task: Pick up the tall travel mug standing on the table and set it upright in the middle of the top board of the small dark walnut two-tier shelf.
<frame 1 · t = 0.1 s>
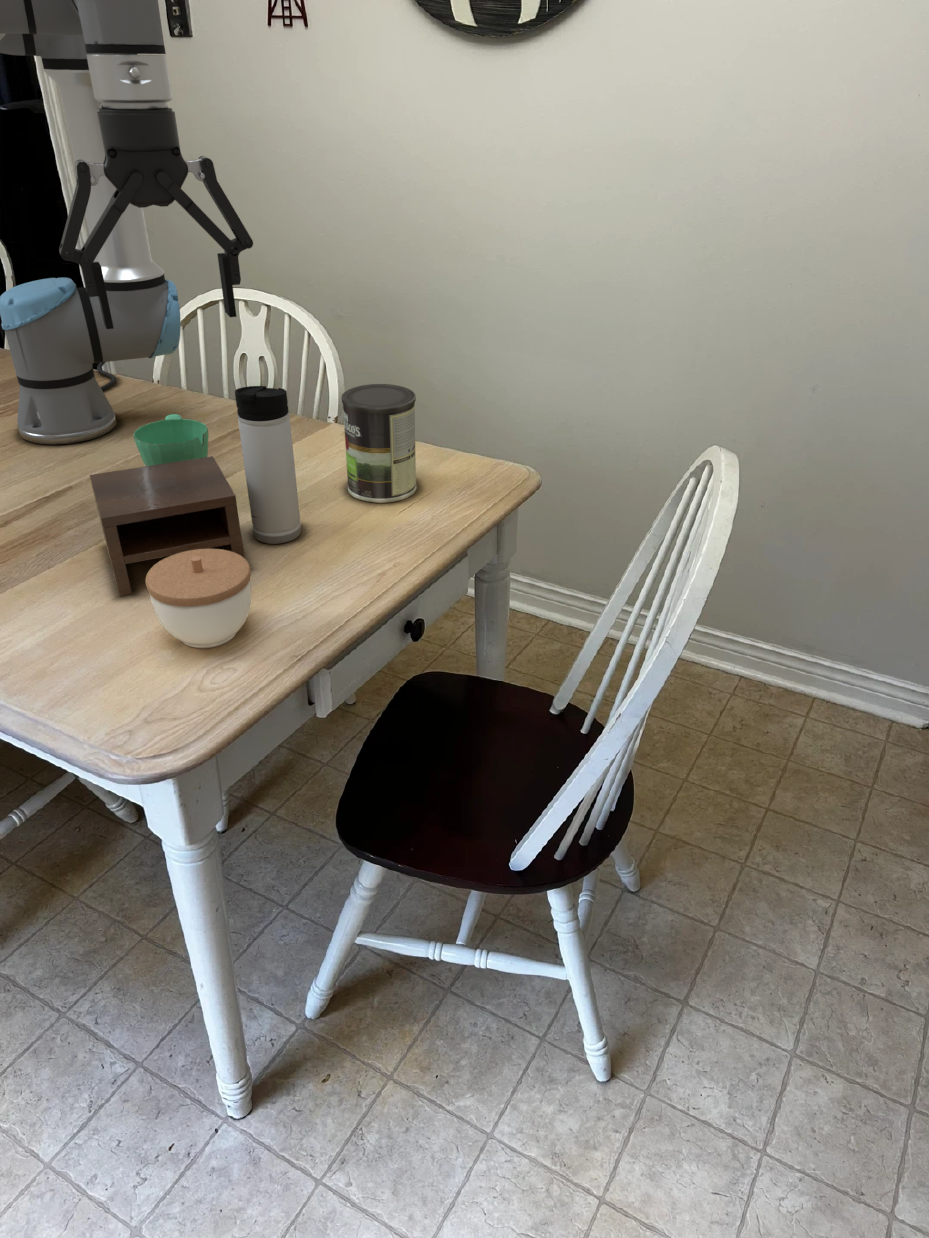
hand: (171, 320, 100), 28 cm above the table, tool pointing down, fingers open, 13 cm apart
coffee can: (382, 489, 129), on the table
mug: (182, 492, 127), on the table
trinket box: (209, 634, 96), on the table
travel mug: (277, 535, 116), on the table
shelf: (175, 559, 110), on the table
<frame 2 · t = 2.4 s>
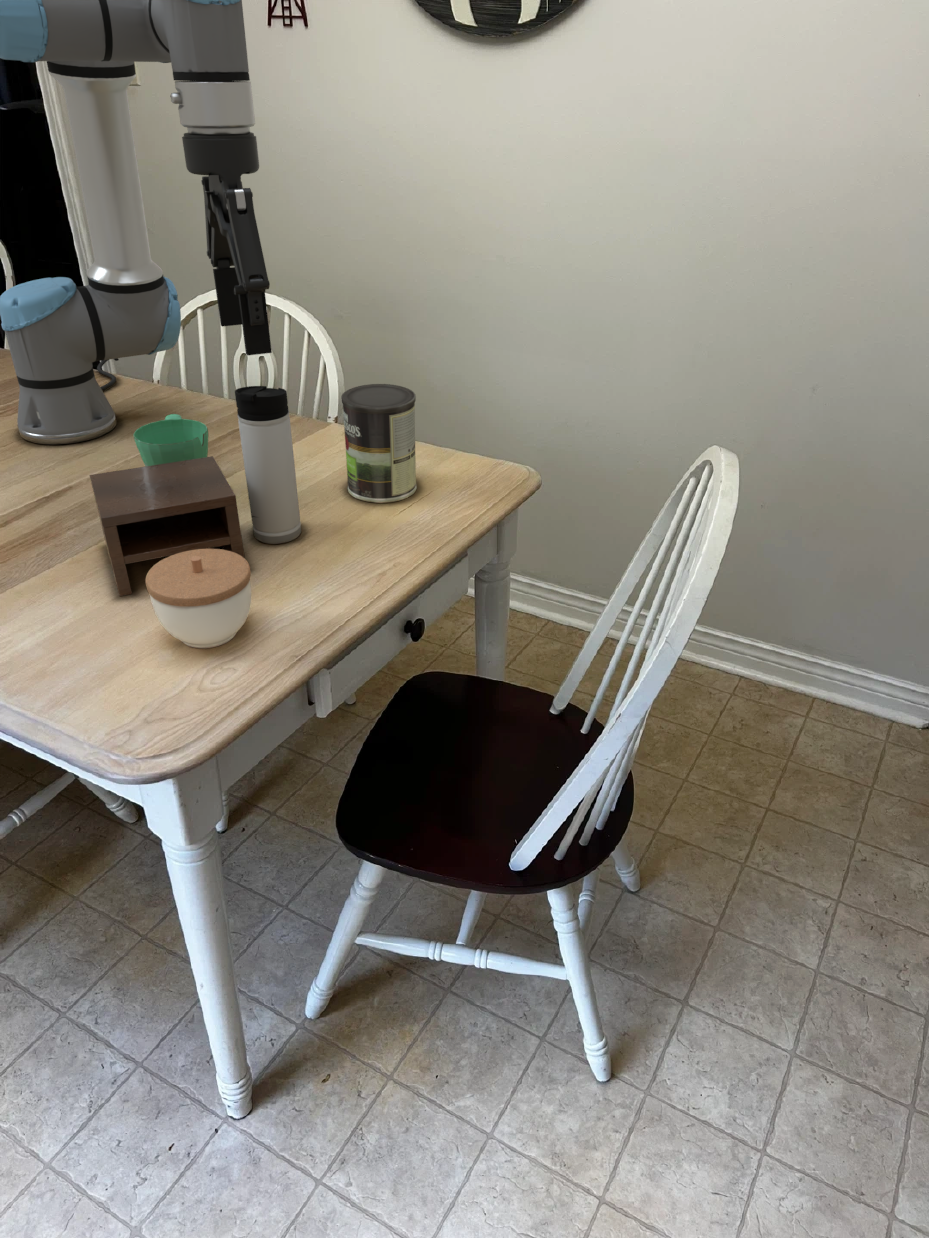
hand: (245, 338, 102), 26 cm above the table, tool pointing down, fingers open, 13 cm apart
nothing on the table moved.
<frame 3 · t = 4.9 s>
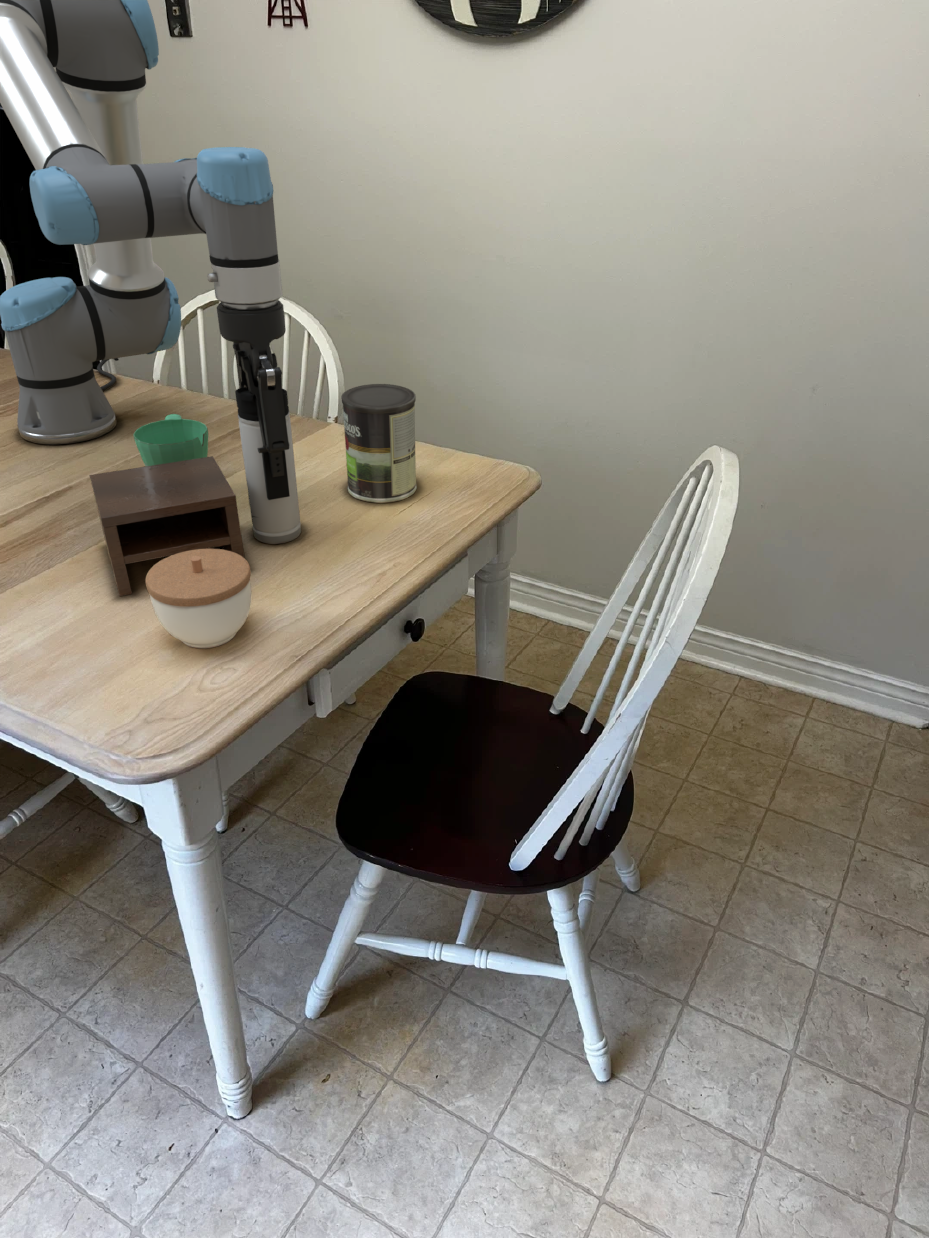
hand: (271, 486, 112), 7 cm above the table, tool pointing down, fingers closed on travel mug, 6 cm apart
travel mug: (277, 535, 116), on the table, touching gripper
everything else where it was.
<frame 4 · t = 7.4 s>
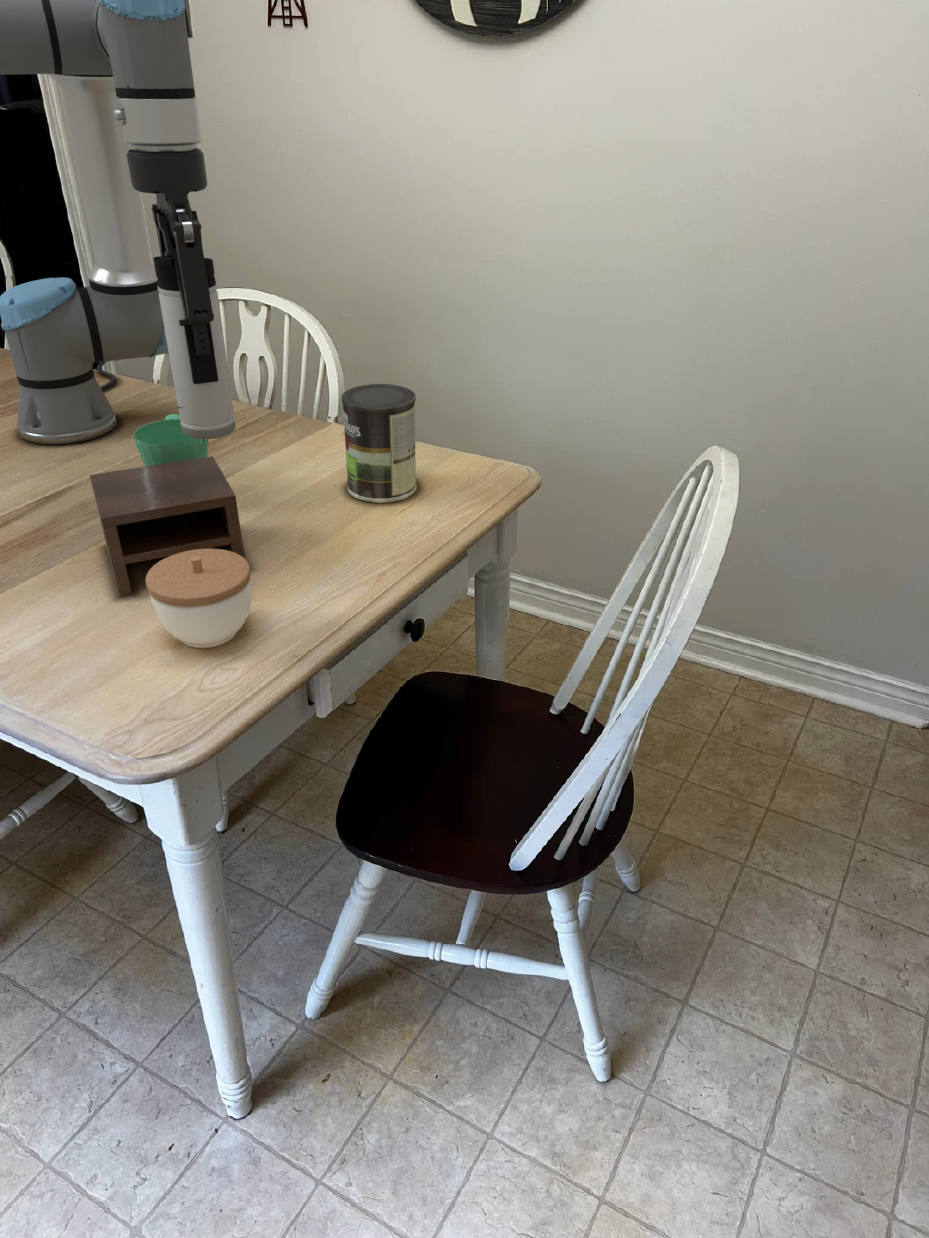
hand: (199, 372, 101), 23 cm above the table, tool pointing down, fingers closed on travel mug, 6 cm apart
travel mug: (208, 432, 105), point 16 cm above the table, touching gripper
everything else where it was.
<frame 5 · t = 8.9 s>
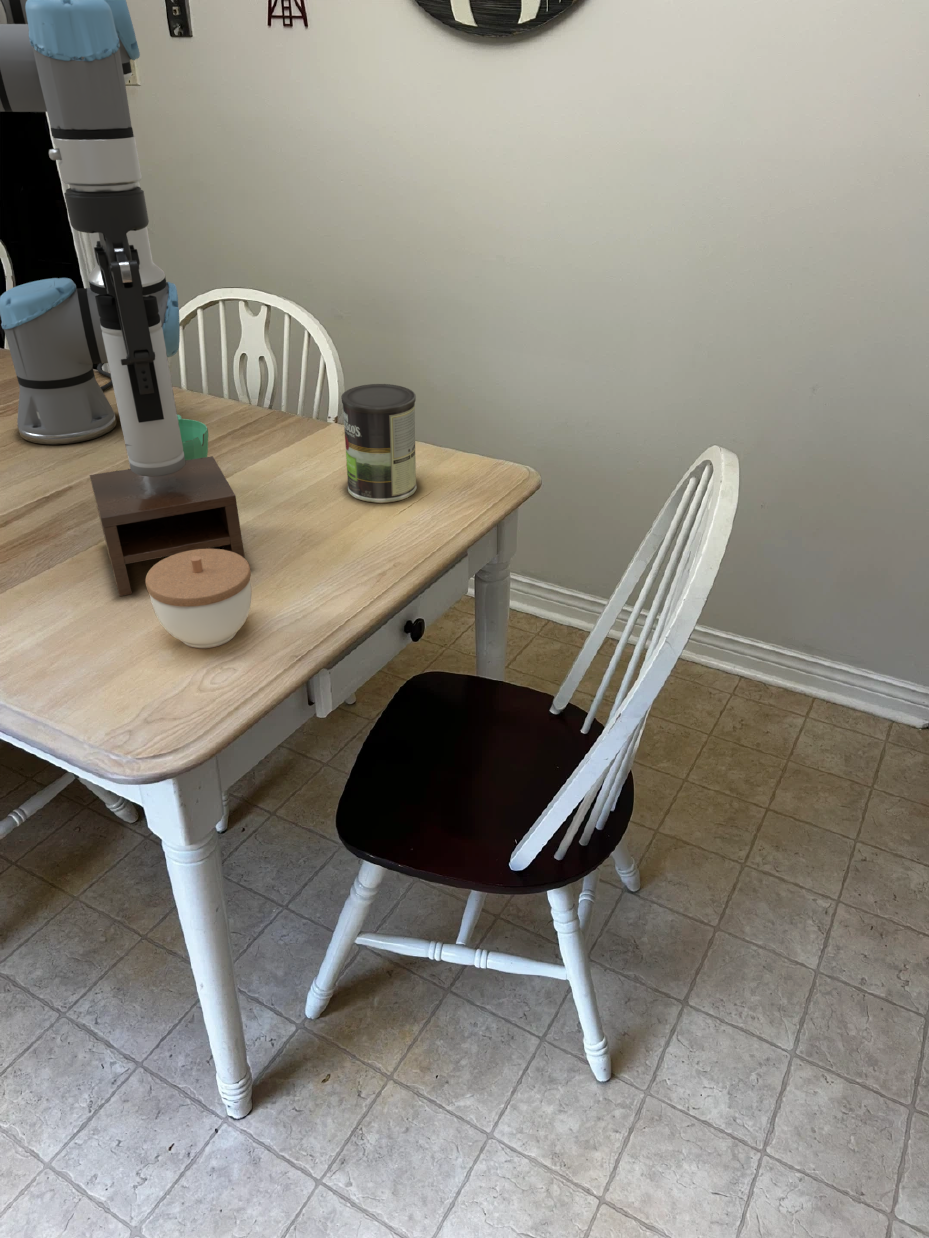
hand: (146, 409, 99), 20 cm above the table, tool pointing down, fingers closed on travel mug, 6 cm apart
travel mug: (157, 468, 103), point 12 cm above the table, touching gripper
everything else where it was.
when the fingers open (17 cm above the table, at t = 9.9 s): travel mug stays where it is, resting on shelf.
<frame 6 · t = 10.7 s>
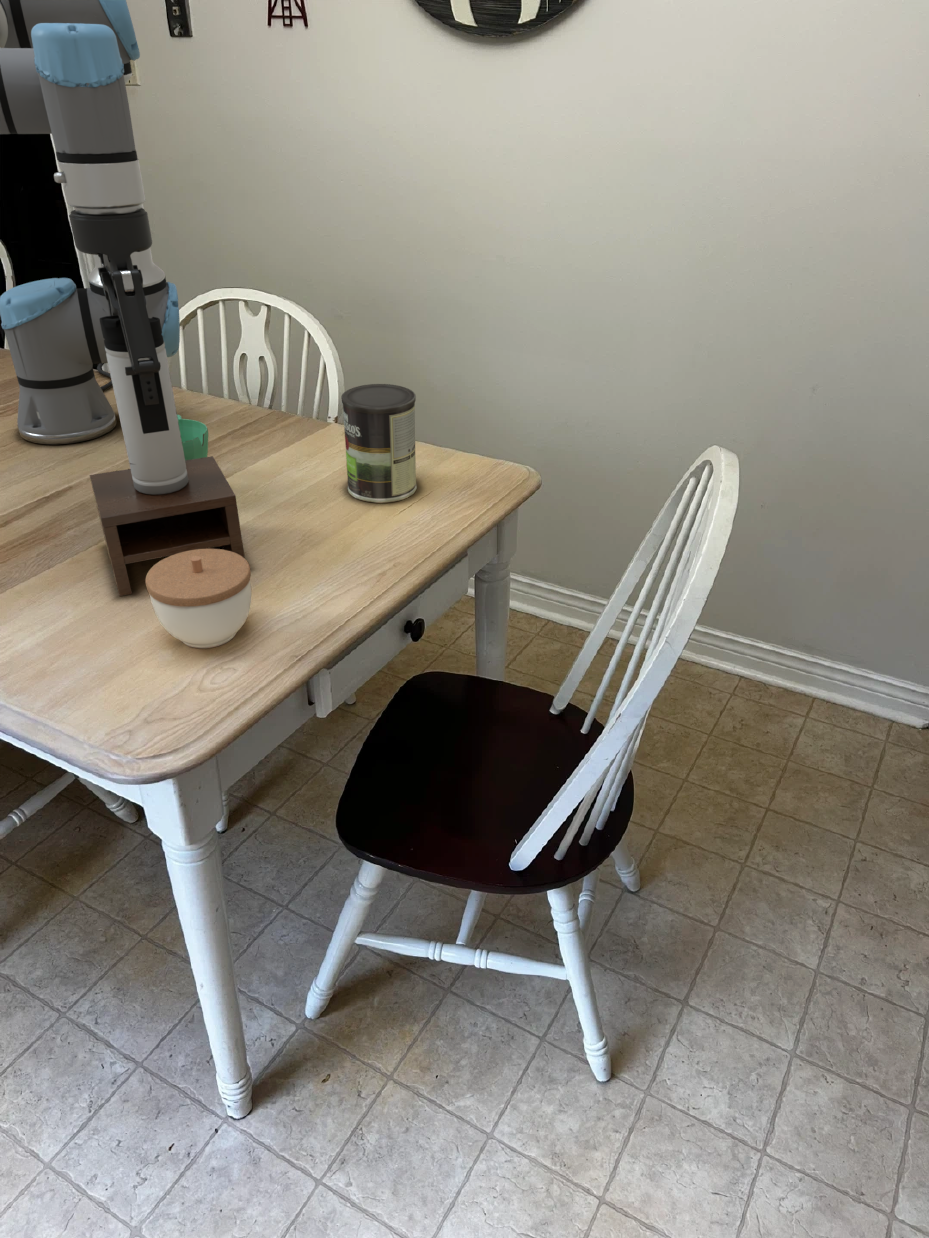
hand: (146, 411, 100), 19 cm above the table, tool pointing down, fingers open, 13 cm apart
travel mug: (161, 486, 104), point 10 cm above the table, touching shelf
everything else where it was.
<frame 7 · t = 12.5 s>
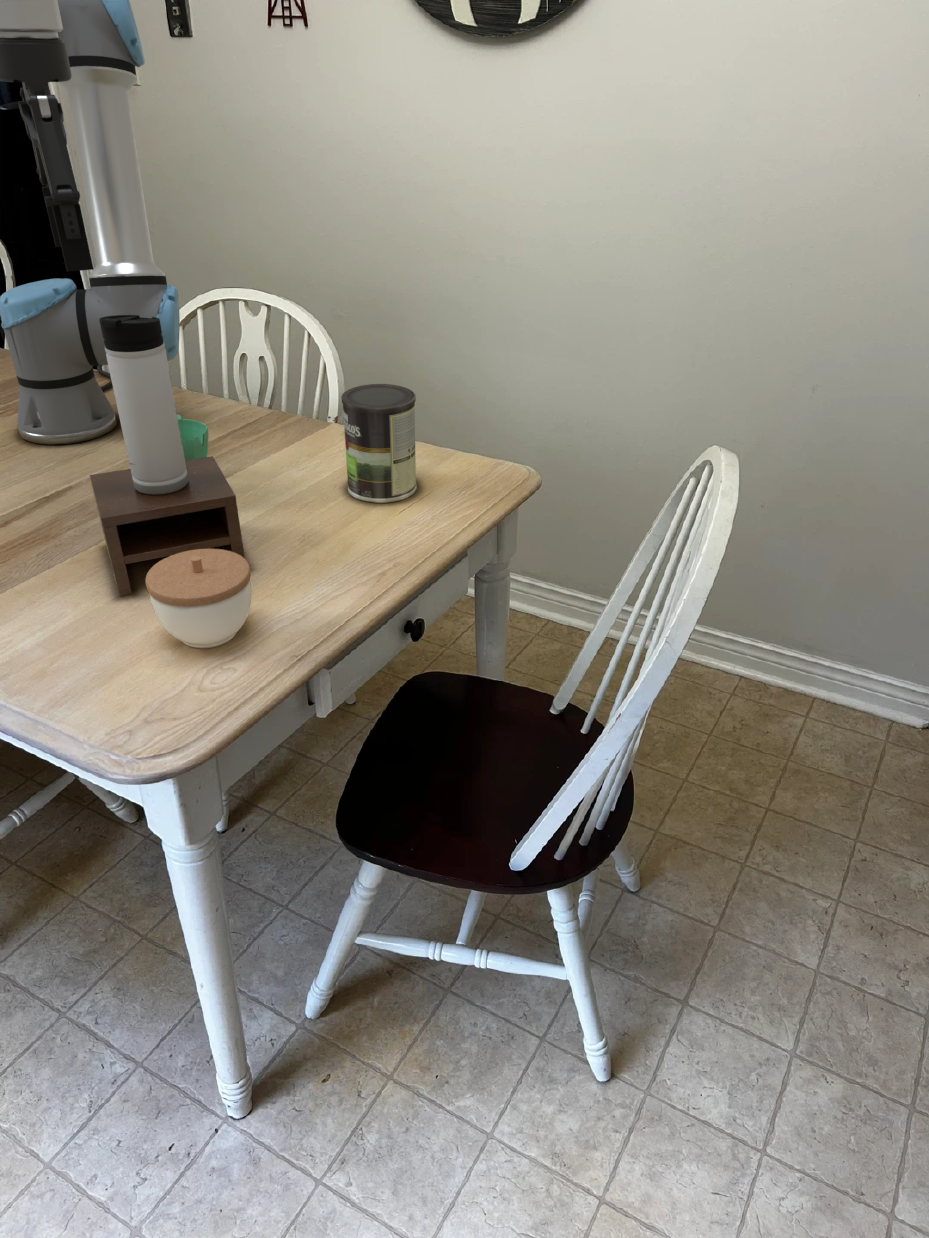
hand: (73, 257, 100), 34 cm above the table, tool pointing down, fingers open, 13 cm apart
nothing on the table moved.
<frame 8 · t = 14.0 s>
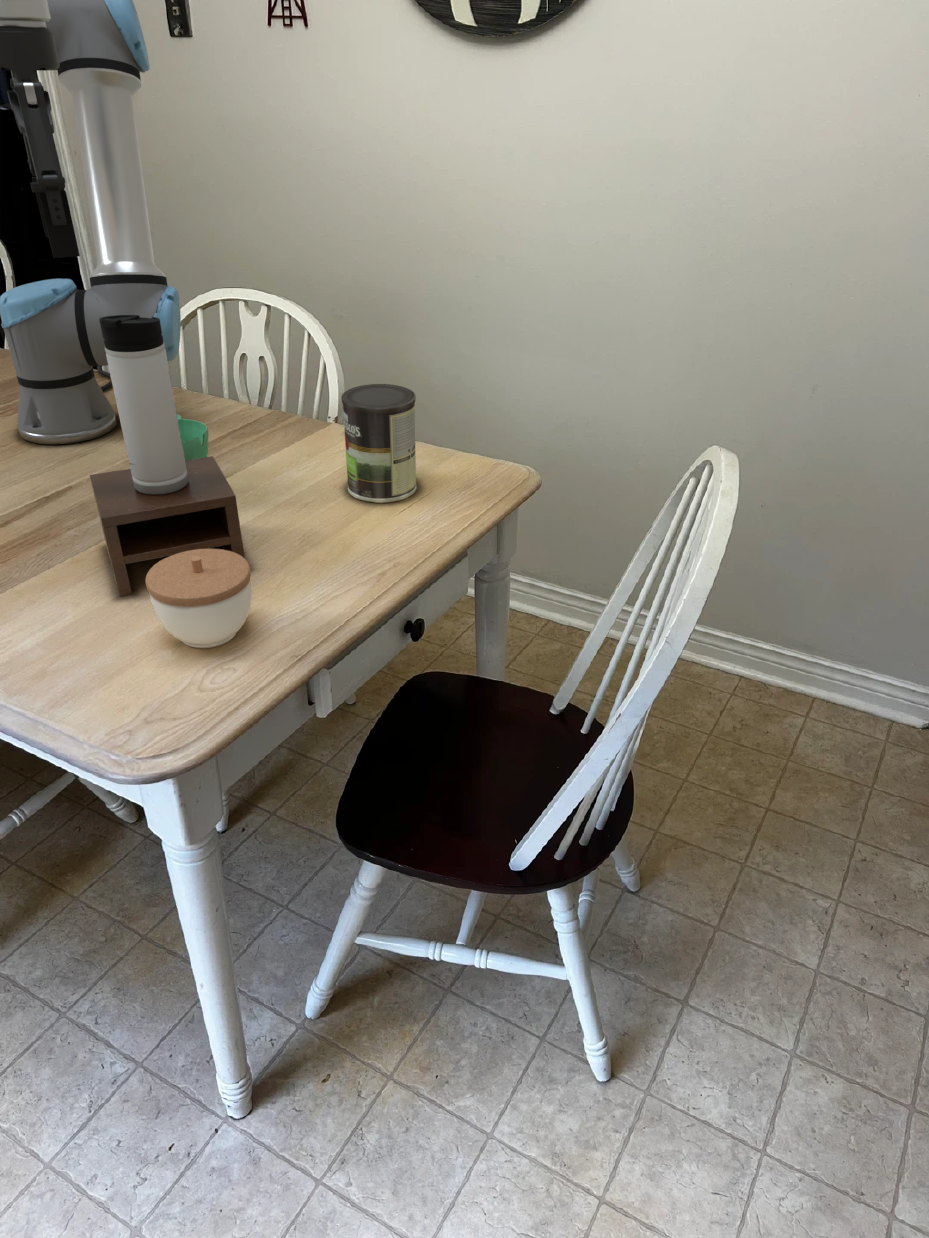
hand: (62, 246, 101), 35 cm above the table, tool pointing down, fingers open, 13 cm apart
nothing on the table moved.
at the end: travel mug inside the target area on the shelf (0.1 cm from its centre), point 10.0 cm above the shelf's base; travel mug tilted 0°; the gripper is holding nothing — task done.
